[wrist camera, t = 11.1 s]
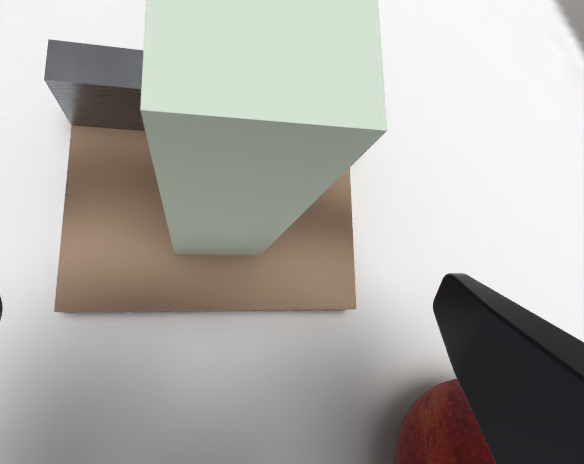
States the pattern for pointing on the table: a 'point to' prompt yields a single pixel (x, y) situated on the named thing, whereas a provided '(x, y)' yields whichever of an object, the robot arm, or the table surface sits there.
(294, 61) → the pale green block
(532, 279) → the table surface
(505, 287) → the table surface
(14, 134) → the table surface
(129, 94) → the bookend shelf
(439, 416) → the apple
